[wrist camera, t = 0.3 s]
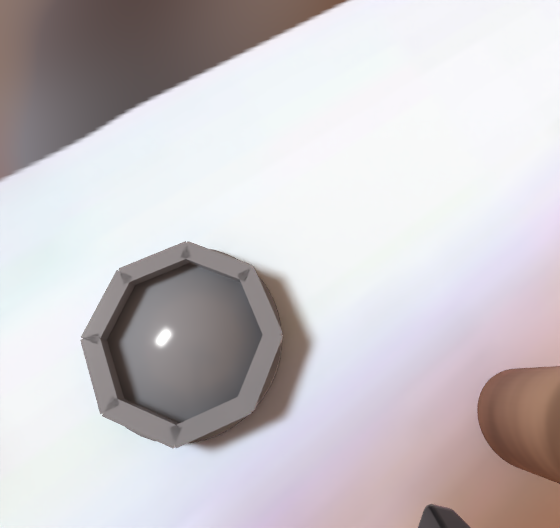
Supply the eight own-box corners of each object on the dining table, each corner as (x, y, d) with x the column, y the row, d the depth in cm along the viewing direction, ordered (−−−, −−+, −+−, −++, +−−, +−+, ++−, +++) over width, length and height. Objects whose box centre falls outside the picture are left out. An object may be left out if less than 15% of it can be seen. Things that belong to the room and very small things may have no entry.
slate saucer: (312, 390, 21) (314, 391, 19) (126, 476, 20) (112, 484, 18) (240, 226, 24) (237, 215, 22) (75, 293, 23) (60, 287, 21)
